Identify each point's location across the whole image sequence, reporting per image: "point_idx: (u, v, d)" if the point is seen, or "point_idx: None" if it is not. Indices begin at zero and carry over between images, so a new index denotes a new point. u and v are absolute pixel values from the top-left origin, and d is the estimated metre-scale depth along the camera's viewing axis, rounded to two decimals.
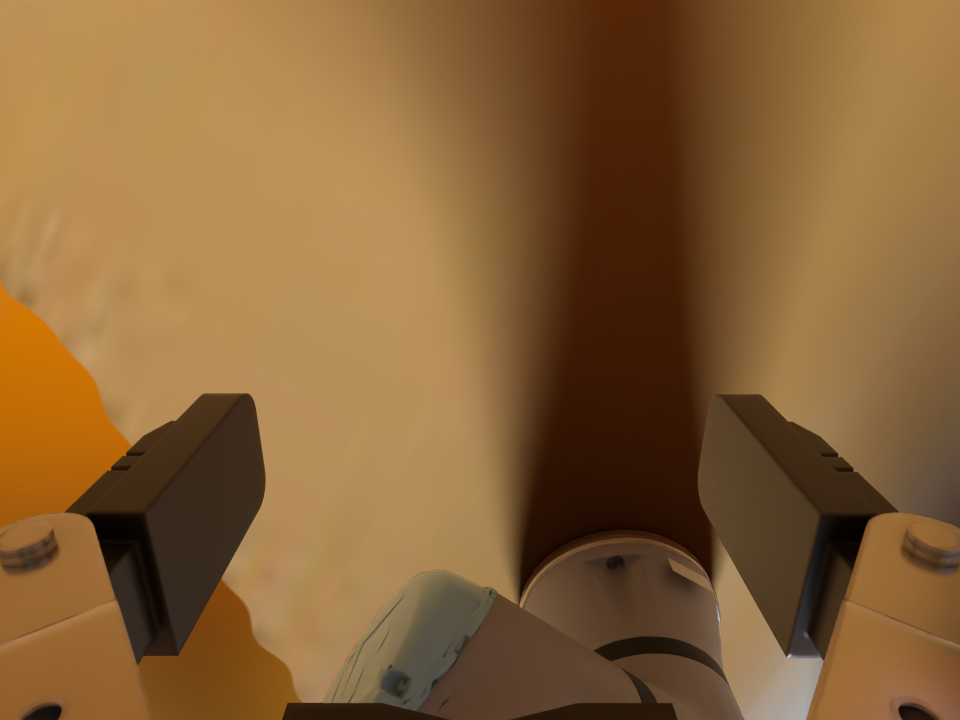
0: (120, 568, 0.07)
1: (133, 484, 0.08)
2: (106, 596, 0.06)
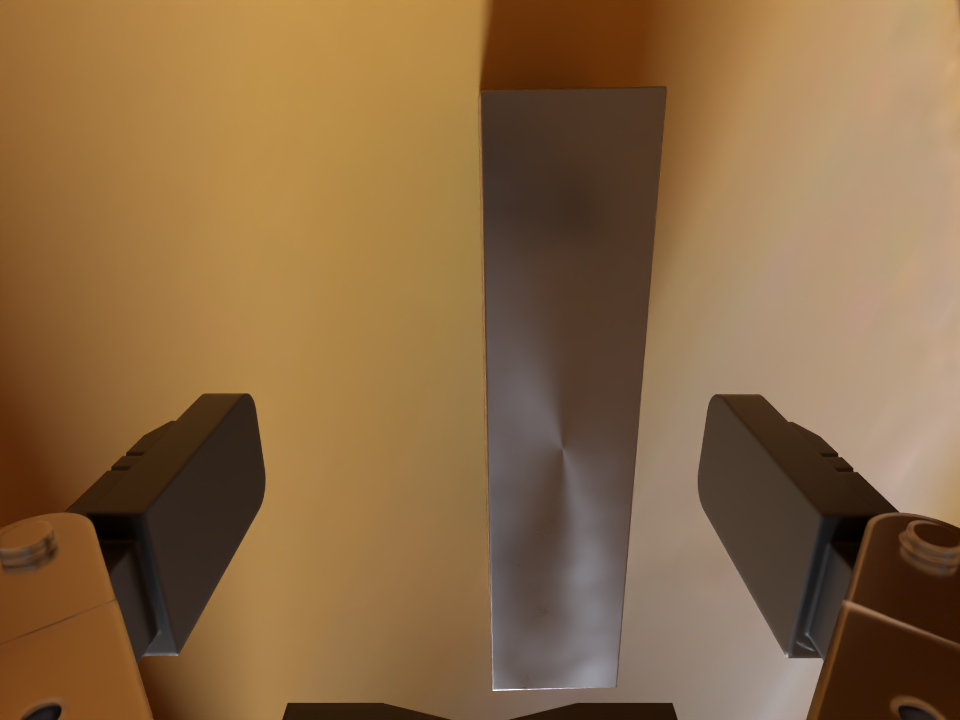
0: (120, 568, 0.07)
1: (133, 484, 0.08)
2: (106, 596, 0.06)
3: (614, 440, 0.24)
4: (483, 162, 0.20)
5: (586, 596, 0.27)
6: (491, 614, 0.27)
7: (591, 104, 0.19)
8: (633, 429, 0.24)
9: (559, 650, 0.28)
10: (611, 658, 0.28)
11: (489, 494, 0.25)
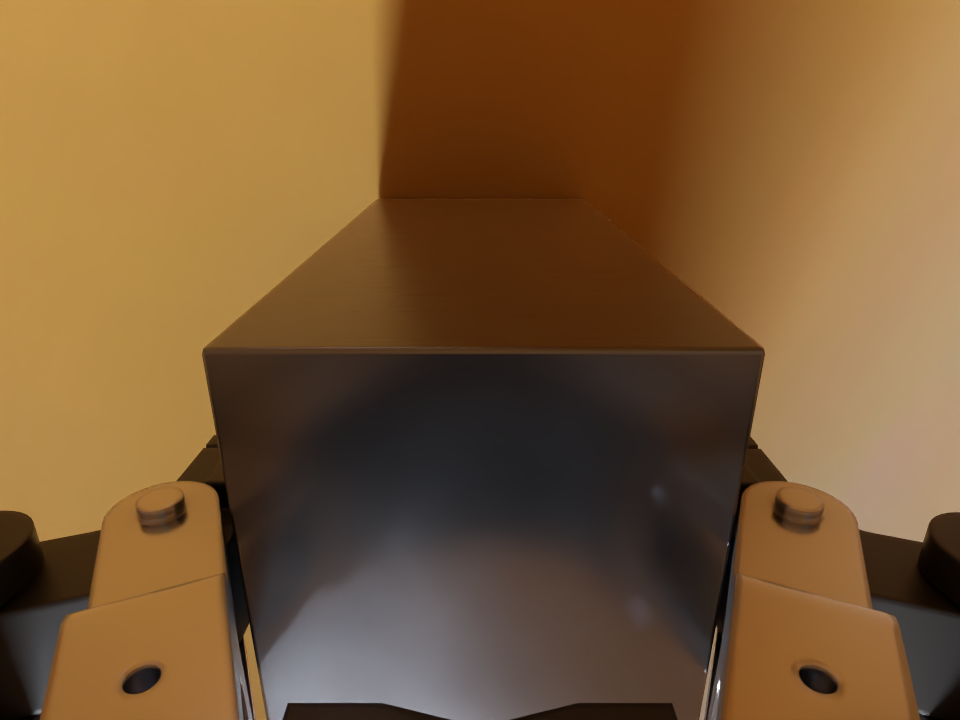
0: None
1: None
2: (219, 567, 0.06)
3: None
4: (234, 522, 0.07)
5: None
6: None
7: (536, 391, 0.06)
8: None
9: None
10: None
11: None
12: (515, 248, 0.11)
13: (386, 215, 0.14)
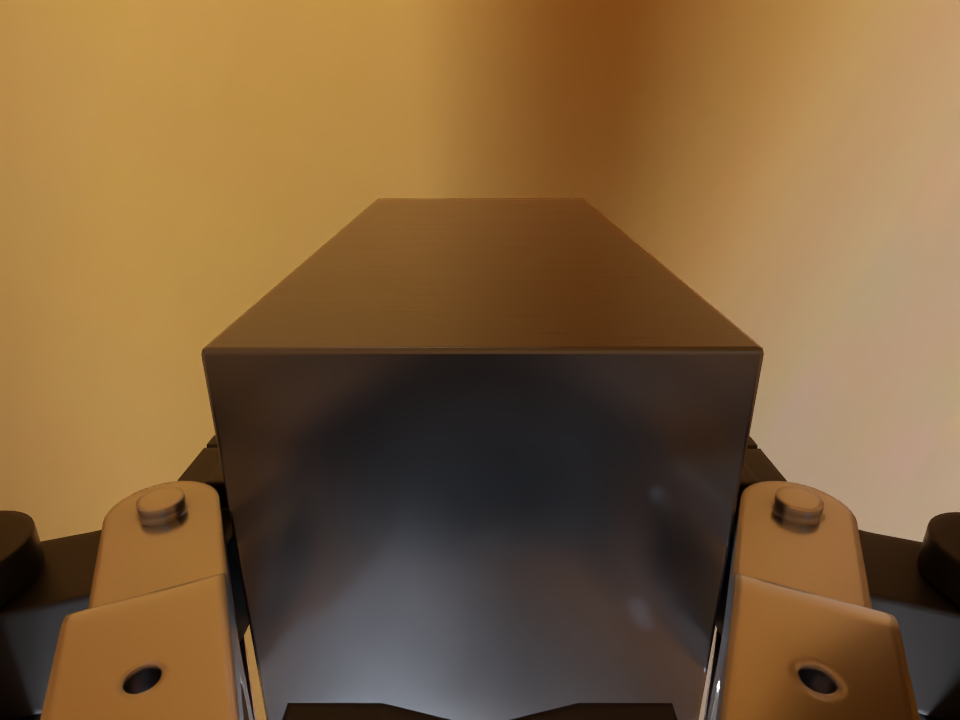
0: None
1: None
2: (220, 567, 0.06)
3: None
4: (234, 522, 0.07)
5: None
6: None
7: (535, 391, 0.06)
8: None
9: None
10: None
11: None
12: (514, 248, 0.11)
13: (386, 215, 0.14)
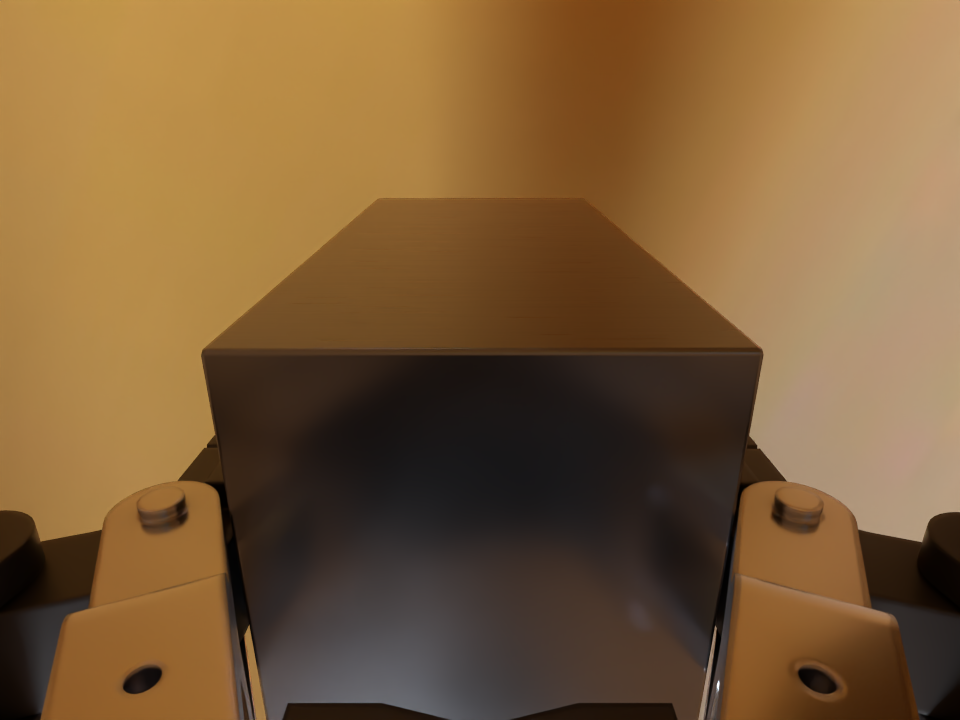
0: None
1: None
2: (220, 567, 0.06)
3: None
4: (234, 523, 0.07)
5: None
6: None
7: (534, 392, 0.06)
8: None
9: None
10: None
11: None
12: (514, 248, 0.11)
13: (386, 215, 0.14)
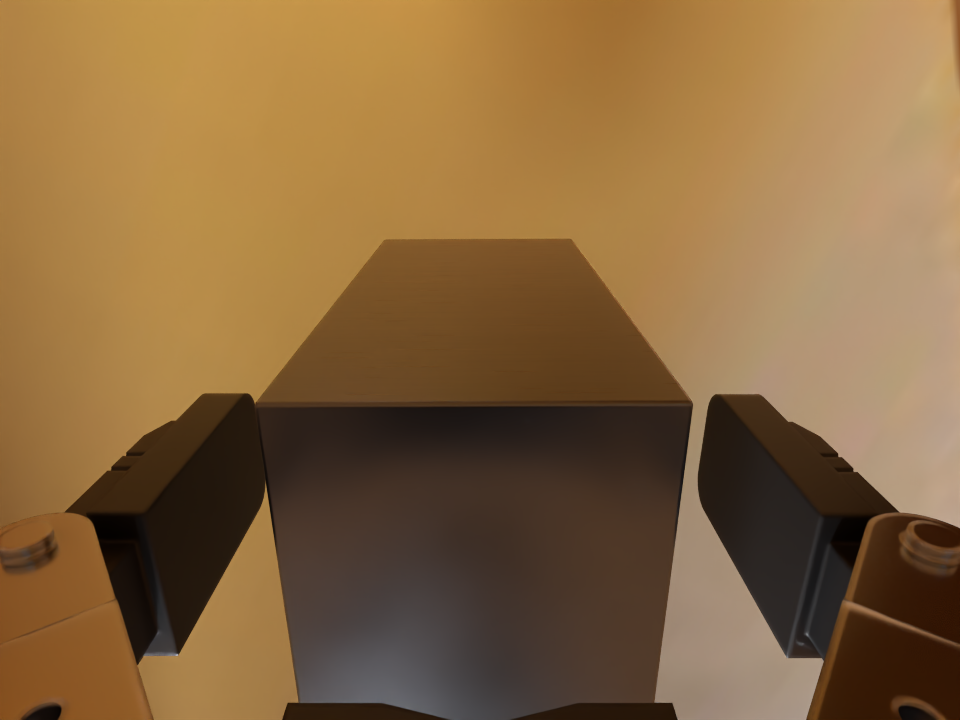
0: (120, 568, 0.07)
1: (133, 484, 0.08)
2: (106, 596, 0.06)
3: None
4: (276, 537, 0.09)
5: None
6: None
7: (514, 434, 0.08)
8: None
9: None
10: None
11: None
12: (505, 298, 0.13)
13: (393, 260, 0.16)
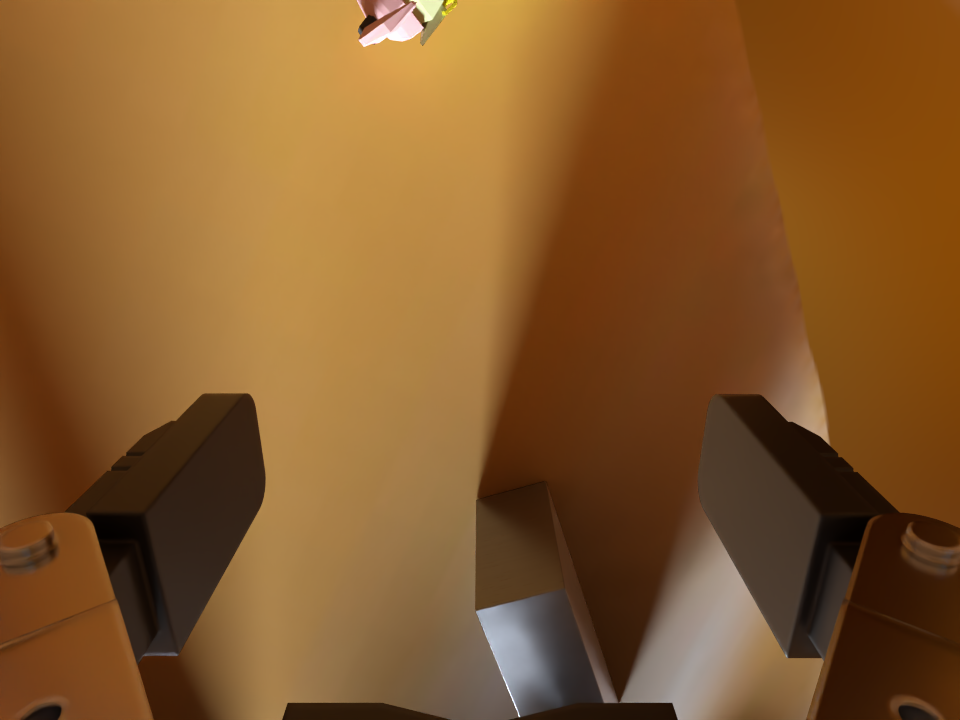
0: (120, 568, 0.07)
1: (133, 484, 0.08)
2: (106, 596, 0.06)
3: None
4: (486, 634, 0.39)
5: None
6: None
7: (530, 602, 0.38)
8: None
9: None
10: None
11: None
12: (523, 544, 0.43)
13: (484, 521, 0.46)
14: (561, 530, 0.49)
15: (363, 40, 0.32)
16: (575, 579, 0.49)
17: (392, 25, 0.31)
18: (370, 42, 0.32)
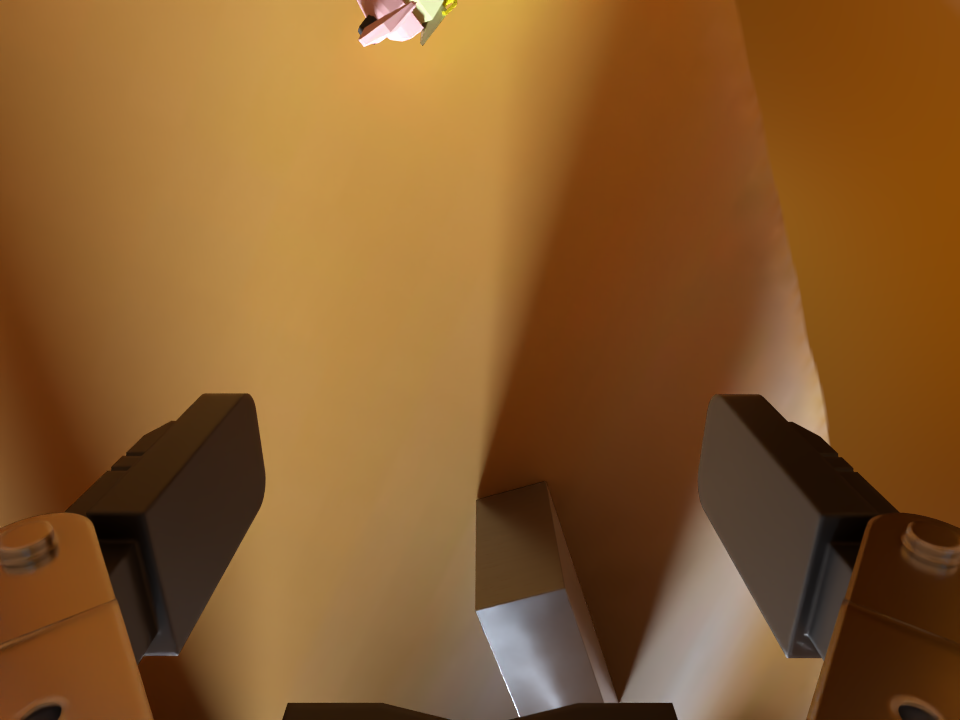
0: (120, 568, 0.07)
1: (133, 484, 0.08)
2: (106, 596, 0.06)
3: None
4: (486, 635, 0.39)
5: None
6: None
7: (530, 602, 0.38)
8: None
9: None
10: None
11: None
12: (523, 544, 0.43)
13: (484, 521, 0.46)
14: (561, 530, 0.49)
15: (363, 40, 0.32)
16: (575, 579, 0.49)
17: (392, 25, 0.31)
18: (370, 42, 0.32)
